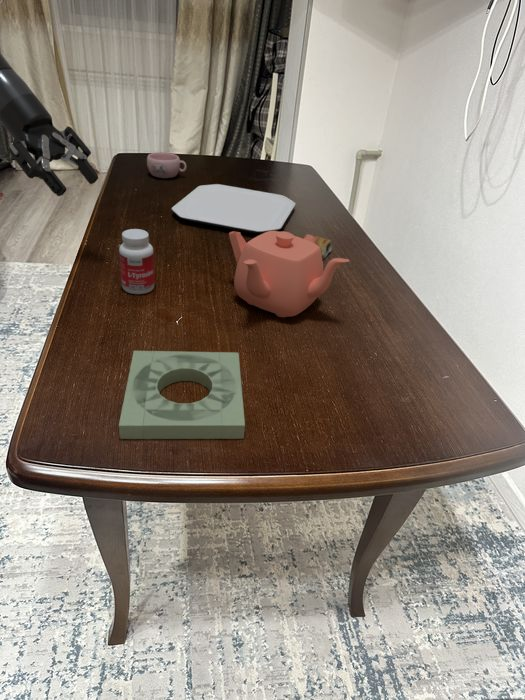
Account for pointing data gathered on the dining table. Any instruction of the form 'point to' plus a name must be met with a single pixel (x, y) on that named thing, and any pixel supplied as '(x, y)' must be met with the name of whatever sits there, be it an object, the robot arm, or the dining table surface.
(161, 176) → the mug
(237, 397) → the socket pad
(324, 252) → the pastry
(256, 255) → the teapot
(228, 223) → the plate
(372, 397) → the dining table surface
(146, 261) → the pill bottle
